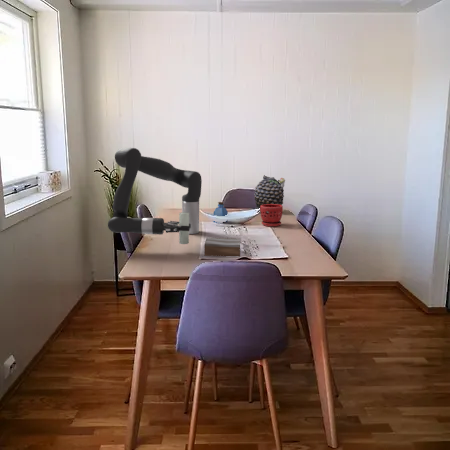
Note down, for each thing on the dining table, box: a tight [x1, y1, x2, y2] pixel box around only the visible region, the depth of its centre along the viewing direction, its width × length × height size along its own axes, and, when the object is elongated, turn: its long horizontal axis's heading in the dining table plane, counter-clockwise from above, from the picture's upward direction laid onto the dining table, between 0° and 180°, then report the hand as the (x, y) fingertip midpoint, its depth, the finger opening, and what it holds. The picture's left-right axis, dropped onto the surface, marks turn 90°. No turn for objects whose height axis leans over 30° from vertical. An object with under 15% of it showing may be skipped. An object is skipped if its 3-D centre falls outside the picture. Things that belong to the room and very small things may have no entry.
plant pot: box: [259, 204, 284, 227], centre depth 279 cm, size 13×13×12 cm
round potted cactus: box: [253, 174, 286, 213], centre depth 317 cm, size 21×15×25 cm
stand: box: [203, 237, 241, 257], centre depth 217 cm, size 12×16×6 cm
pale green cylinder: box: [178, 211, 190, 245], centre depth 216 cm, size 4×4×14 cm
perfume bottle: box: [212, 201, 229, 224], centre depth 284 cm, size 6×6×12 cm
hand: (189, 227), depth 216 cm, fingers closed on pale green cylinder, 4 cm apart
